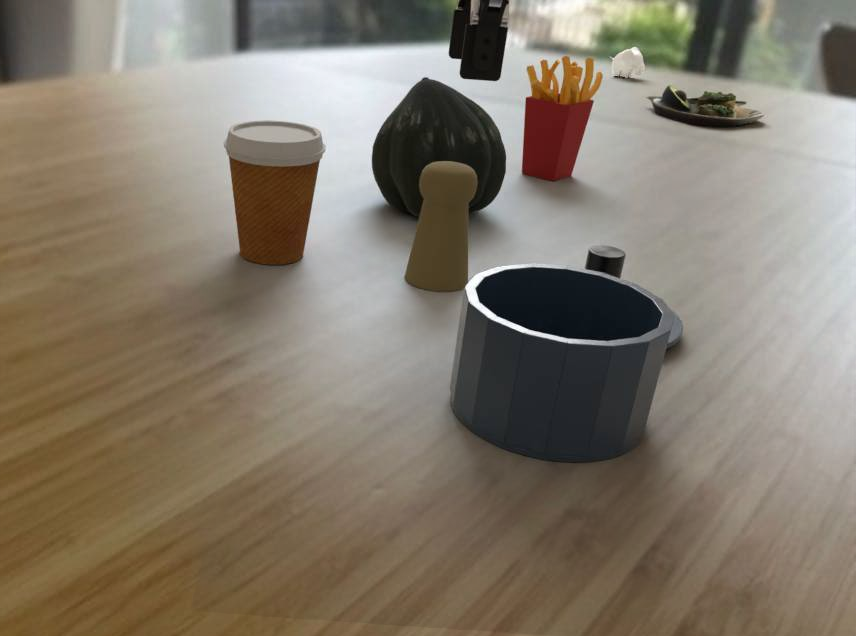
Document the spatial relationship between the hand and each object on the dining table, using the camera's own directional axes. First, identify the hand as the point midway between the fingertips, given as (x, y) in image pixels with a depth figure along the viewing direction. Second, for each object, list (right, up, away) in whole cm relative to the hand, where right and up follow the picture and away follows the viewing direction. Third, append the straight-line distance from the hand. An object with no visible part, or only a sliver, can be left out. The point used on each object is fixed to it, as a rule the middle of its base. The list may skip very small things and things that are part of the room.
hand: (472, 68), depth 76 cm
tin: (+3, -29, -11) cm, 31 cm away
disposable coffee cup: (-18, -14, +14) cm, 26 cm away
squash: (0, -6, +29) cm, 30 cm away
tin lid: (+11, -21, +2) cm, 24 cm away
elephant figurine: (+53, +40, +119) cm, 136 cm away
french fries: (+18, +2, +46) cm, 50 cm away
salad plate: (+56, +22, +85) cm, 104 cm away
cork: (-2, -17, +10) cm, 19 cm away
